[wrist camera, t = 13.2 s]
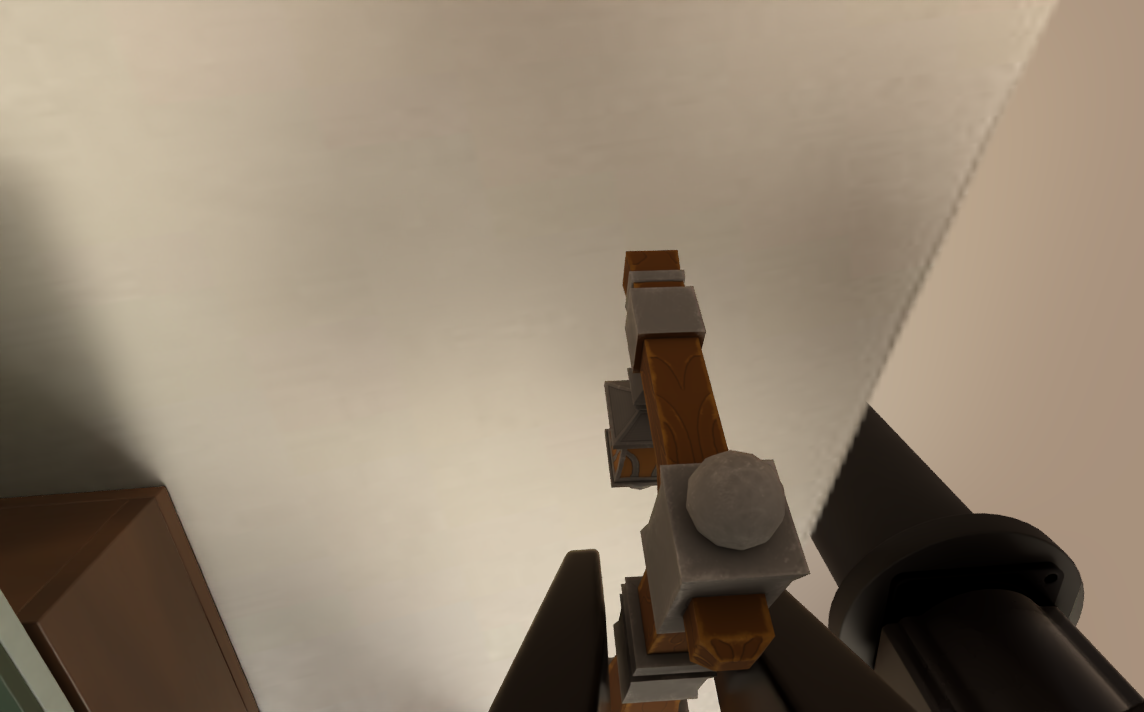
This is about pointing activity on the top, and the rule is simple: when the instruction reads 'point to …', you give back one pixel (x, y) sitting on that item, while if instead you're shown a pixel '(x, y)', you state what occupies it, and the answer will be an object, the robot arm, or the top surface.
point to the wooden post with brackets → (688, 508)
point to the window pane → (24, 670)
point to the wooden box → (118, 603)
